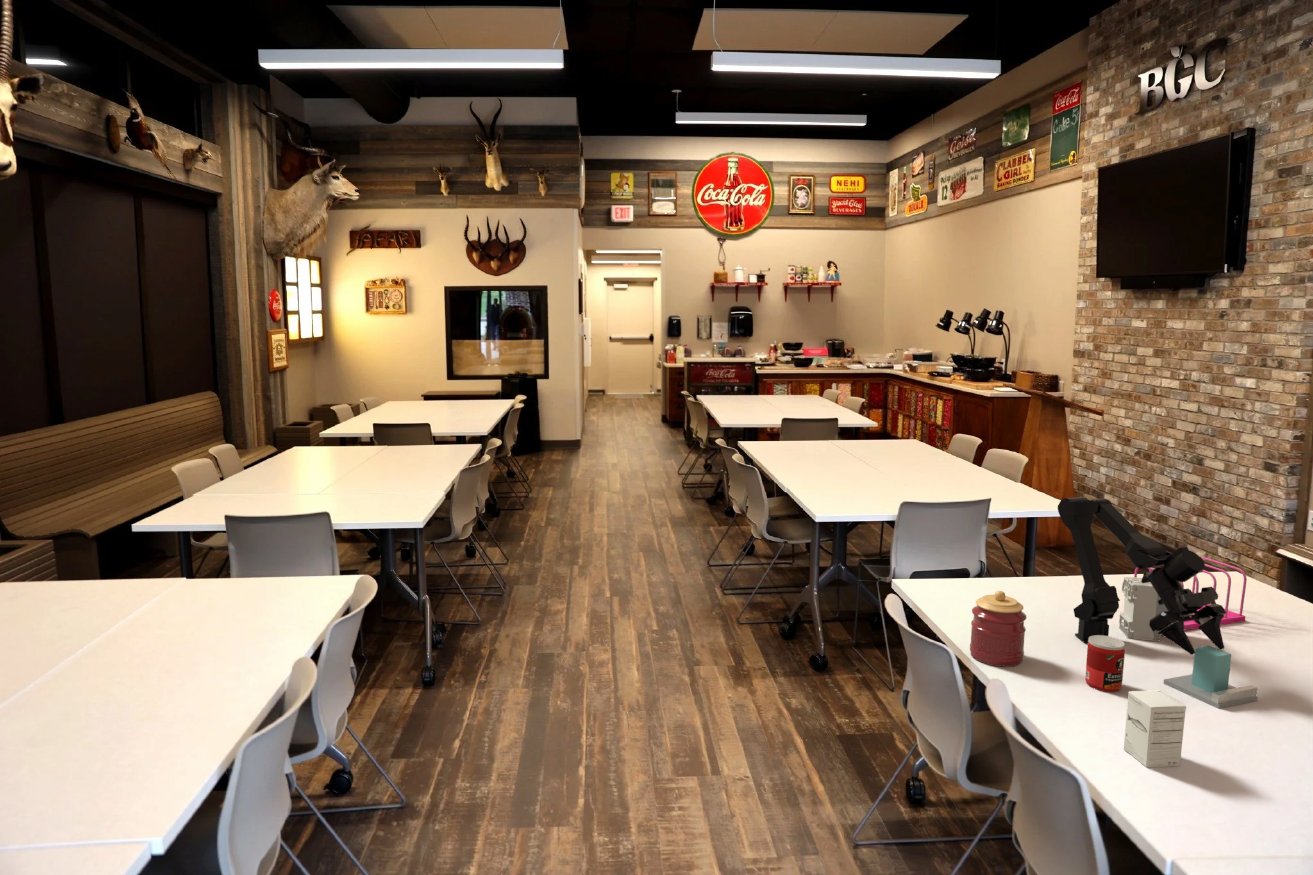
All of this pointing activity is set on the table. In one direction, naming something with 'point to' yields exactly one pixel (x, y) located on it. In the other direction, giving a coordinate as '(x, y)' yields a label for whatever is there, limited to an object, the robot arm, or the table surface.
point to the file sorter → (1229, 616)
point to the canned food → (1105, 663)
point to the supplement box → (1154, 728)
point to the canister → (998, 630)
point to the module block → (1211, 669)
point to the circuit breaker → (1139, 609)
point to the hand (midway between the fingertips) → (1207, 651)
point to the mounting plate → (1216, 698)
